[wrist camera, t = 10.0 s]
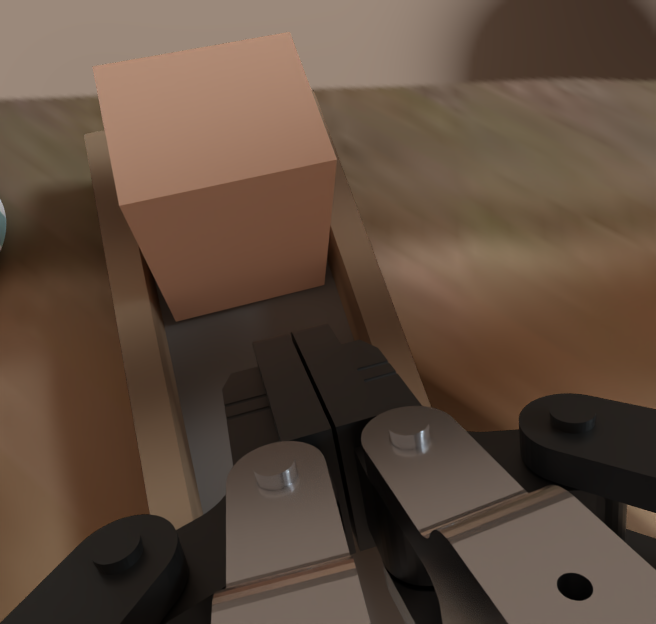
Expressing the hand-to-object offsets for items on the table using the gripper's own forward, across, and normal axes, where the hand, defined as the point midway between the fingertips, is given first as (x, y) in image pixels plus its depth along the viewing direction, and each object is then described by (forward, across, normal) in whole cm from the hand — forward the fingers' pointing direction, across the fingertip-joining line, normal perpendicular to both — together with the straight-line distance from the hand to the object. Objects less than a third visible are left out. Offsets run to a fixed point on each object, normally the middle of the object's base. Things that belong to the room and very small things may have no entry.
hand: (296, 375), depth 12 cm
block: (+14, 0, +2) cm, 14 cm away
